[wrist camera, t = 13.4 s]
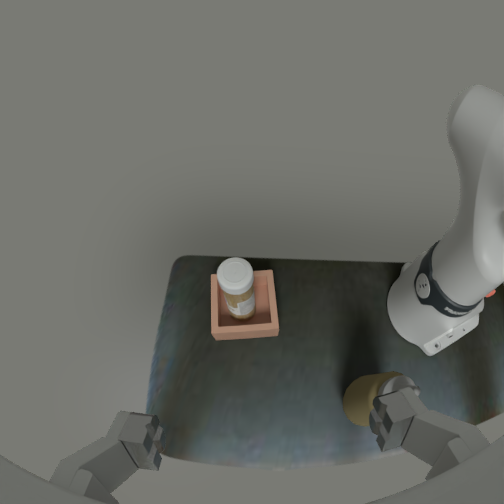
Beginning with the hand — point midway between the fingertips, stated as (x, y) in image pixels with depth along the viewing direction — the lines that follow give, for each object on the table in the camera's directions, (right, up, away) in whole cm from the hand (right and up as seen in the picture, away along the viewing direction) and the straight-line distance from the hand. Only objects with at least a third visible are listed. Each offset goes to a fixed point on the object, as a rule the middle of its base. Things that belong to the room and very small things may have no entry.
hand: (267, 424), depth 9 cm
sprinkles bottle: (-2, -3, +37) cm, 37 cm away
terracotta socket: (-2, -3, +38) cm, 38 cm away
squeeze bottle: (+16, -17, +28) cm, 37 cm away
